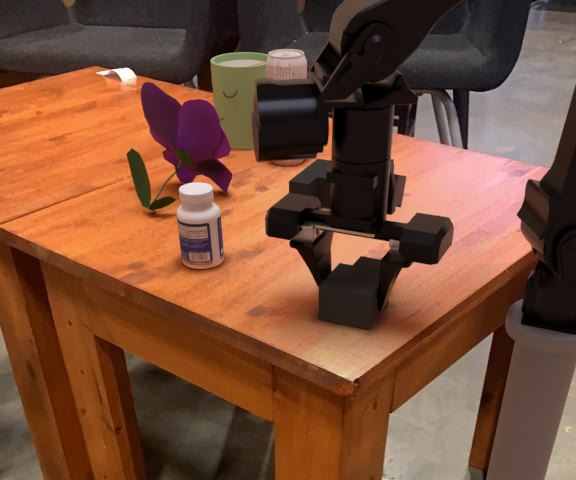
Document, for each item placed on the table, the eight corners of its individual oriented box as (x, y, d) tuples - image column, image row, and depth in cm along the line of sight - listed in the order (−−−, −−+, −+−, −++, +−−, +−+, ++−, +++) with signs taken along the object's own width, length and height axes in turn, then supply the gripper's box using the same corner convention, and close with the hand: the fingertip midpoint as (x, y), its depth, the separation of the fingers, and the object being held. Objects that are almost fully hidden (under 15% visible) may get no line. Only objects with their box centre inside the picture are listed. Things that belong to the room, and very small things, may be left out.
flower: (208, 254, 108) (254, 183, 111) (164, 172, 95) (218, 93, 98) (131, 233, 114) (177, 165, 117) (79, 153, 101) (133, 79, 104)
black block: (395, 295, 87) (398, 262, 85) (369, 330, 82) (371, 295, 79) (346, 286, 89) (348, 253, 87) (317, 319, 84) (318, 285, 81)
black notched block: (381, 196, 110) (382, 167, 107) (355, 221, 104) (357, 191, 101) (317, 186, 113) (317, 158, 111) (289, 210, 107) (288, 181, 104)
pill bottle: (202, 248, 98) (196, 176, 92) (232, 259, 95) (228, 186, 89) (172, 262, 95) (163, 189, 89) (203, 274, 92) (196, 199, 86)
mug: (203, 138, 131) (196, 59, 123) (252, 126, 135) (249, 49, 127) (245, 157, 123) (241, 74, 115) (296, 144, 128) (295, 63, 120)
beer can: (308, 154, 124) (308, 48, 114) (305, 166, 120) (305, 58, 110) (271, 153, 125) (268, 48, 115) (266, 166, 120) (263, 57, 110)
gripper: (478, 141, 76) (457, 288, 86) (306, 120, 82) (306, 260, 92) (446, 178, 68) (427, 334, 79) (260, 152, 74) (265, 300, 85)
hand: (354, 304), depth 84 cm, fingers closed on black block, 6 cm apart
